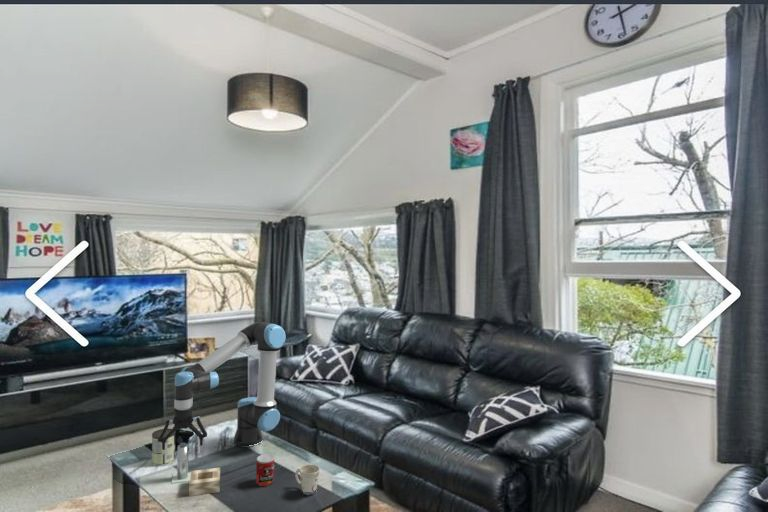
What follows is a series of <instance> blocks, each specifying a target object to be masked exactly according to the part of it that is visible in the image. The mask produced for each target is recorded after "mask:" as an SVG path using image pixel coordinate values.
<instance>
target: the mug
mask: <svg viewBox="0 0 768 512" xmlns="http://www.w3.org/2000/svg"><path fill="white" fill-rule="evenodd" d="M298 474H299V477H300V479H299V477H298ZM319 475H320V467H319V466H318V465H316V464H305V465H303V466H301V467H300V468H298V469H296V471H295V473H294V476H295V480H296V482H297V484H299V485H301V492H302V491H303V492H313V491H315V490H316V489H317V488H318V482H319ZM316 491H317V490H316Z"/></svg>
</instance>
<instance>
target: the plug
mask: <svg viewBox="0 0 768 512" xmlns="http://www.w3.org/2000/svg"><path fill="white" fill-rule="evenodd" d="M176 462H177V463H176V464H177V467H176V474H177V479H179V480H182V479H186V478H187V477H188V472H189V444H188V443H187V444H186V443H183V442H181V444H180V445H179V446H177V461H176Z"/></svg>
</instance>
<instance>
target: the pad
mask: <svg viewBox="0 0 768 512" xmlns="http://www.w3.org/2000/svg"><path fill="white" fill-rule="evenodd" d="M190 476H191V471H188V477H187V478H186V479H182V480H179V479H177V473H173V475H172V479H171V484H172V485H173V484H178V483H187V482H189V483H190Z"/></svg>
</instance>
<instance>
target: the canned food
mask: <svg viewBox="0 0 768 512" xmlns="http://www.w3.org/2000/svg"><path fill="white" fill-rule="evenodd" d="M255 463H256V464H255V465H256V467H255V468H256V473H255V475H256V477H255V478H256V480H255V483H256V484H258V486H259V485H261V486H260V487H263V486H264V487H266V486H265V485H268V484H271V483H272V482H273V483H274V480H275V456H274V455H273V454H270V453H266V454H265V453H264V454H260V455H259V456H257V457H256V462H255ZM273 483H272V484H273ZM272 484H271V485H272Z"/></svg>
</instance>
